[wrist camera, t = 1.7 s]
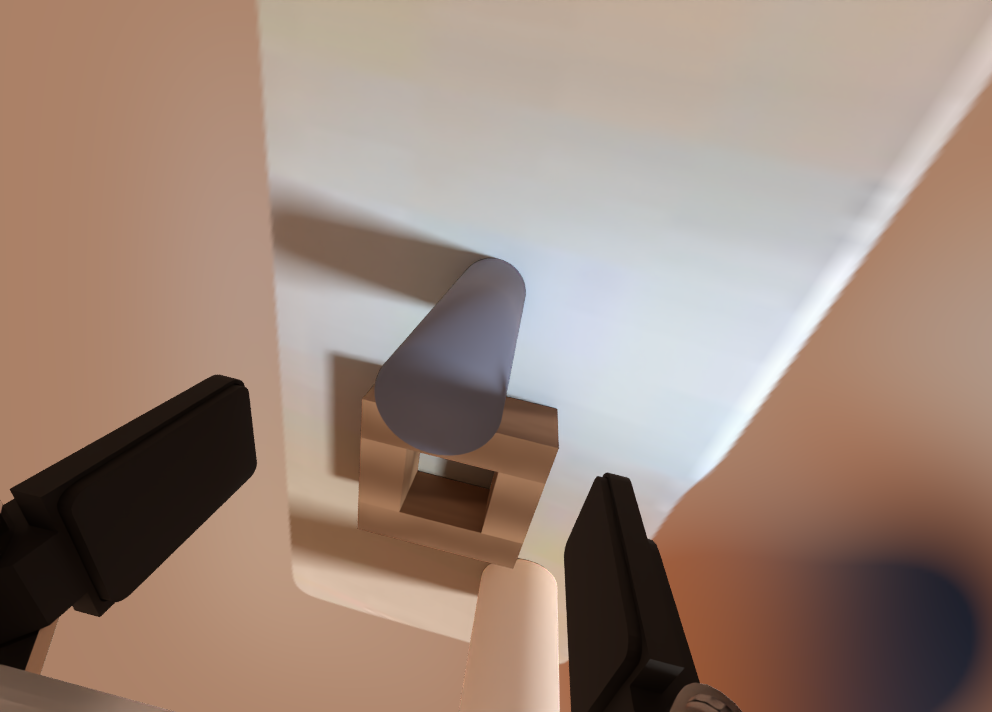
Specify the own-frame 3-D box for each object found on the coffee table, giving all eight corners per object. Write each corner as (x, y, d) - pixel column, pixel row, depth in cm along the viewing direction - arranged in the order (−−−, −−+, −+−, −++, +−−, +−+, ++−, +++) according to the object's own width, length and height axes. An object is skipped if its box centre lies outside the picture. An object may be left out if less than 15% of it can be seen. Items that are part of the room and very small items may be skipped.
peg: (465, 251, 21) (377, 330, 10) (532, 267, 21) (516, 364, 10) (455, 314, 23) (371, 438, 12) (517, 329, 23) (488, 467, 12)
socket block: (388, 367, 25) (362, 399, 21) (557, 409, 25) (558, 448, 21) (379, 487, 31) (357, 528, 27) (517, 522, 30) (513, 569, 27)
